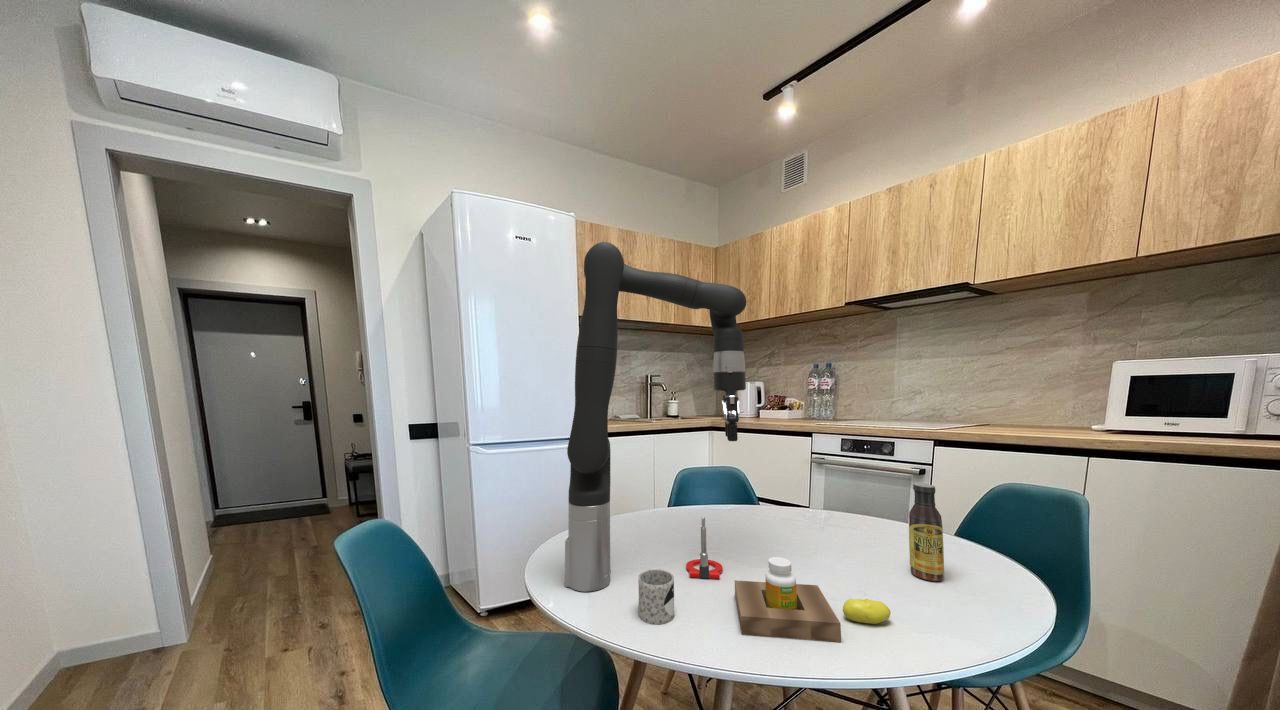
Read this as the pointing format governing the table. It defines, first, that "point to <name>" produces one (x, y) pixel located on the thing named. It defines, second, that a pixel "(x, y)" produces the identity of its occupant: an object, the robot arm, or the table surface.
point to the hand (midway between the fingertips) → (731, 438)
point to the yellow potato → (866, 611)
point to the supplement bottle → (780, 585)
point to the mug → (656, 597)
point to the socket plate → (786, 614)
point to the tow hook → (704, 561)
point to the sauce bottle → (926, 535)
